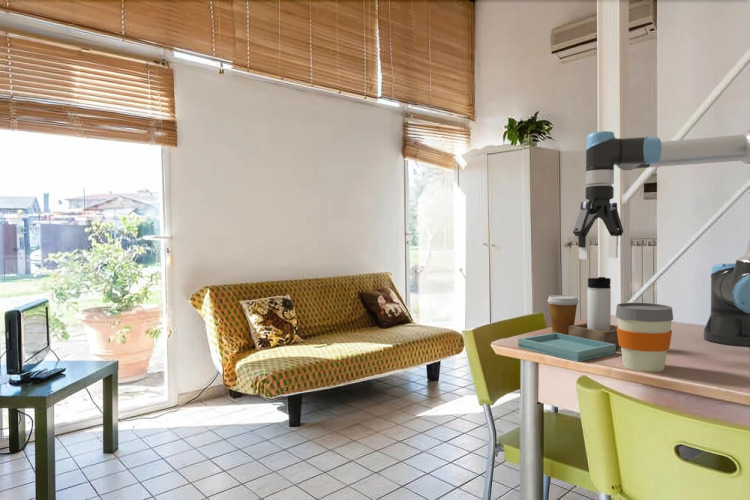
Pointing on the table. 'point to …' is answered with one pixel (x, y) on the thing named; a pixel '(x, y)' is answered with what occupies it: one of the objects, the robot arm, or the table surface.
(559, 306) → the disposable coffee cup
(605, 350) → the tray
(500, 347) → the table surface
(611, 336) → the brown wooden crate
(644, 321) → the reusable coffee cup
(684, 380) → the table surface
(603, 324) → the travel mug
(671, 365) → the table surface
